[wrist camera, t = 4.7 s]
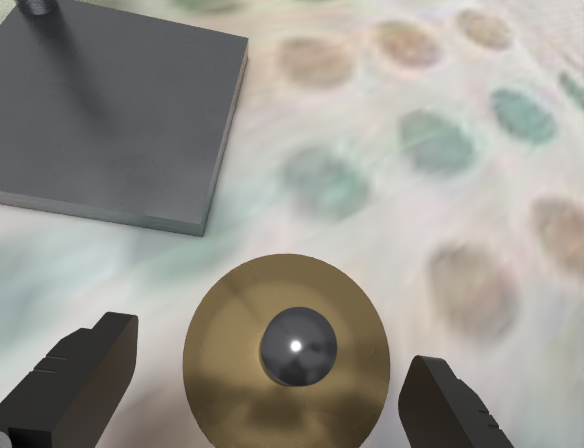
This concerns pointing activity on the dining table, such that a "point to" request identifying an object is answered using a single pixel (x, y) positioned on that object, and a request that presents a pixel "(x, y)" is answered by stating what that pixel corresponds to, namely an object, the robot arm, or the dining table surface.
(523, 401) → the dining table surface
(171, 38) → the stand
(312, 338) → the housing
